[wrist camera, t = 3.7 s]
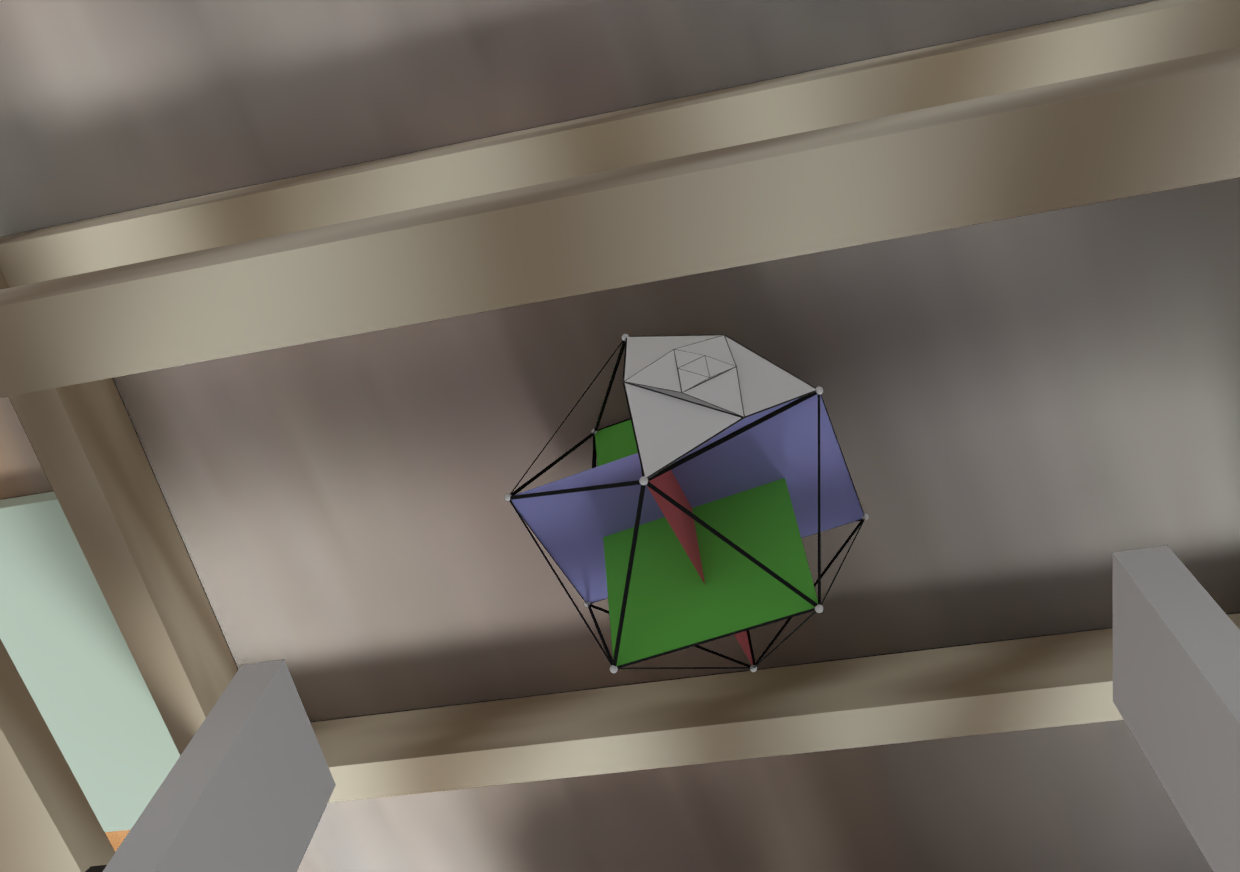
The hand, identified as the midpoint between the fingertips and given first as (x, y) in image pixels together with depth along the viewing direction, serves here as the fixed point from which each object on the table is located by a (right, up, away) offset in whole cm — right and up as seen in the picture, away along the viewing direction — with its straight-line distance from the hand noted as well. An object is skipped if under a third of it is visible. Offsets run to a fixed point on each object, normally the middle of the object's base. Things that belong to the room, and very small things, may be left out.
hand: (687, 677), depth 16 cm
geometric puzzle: (+1, +4, +9) cm, 9 cm away
